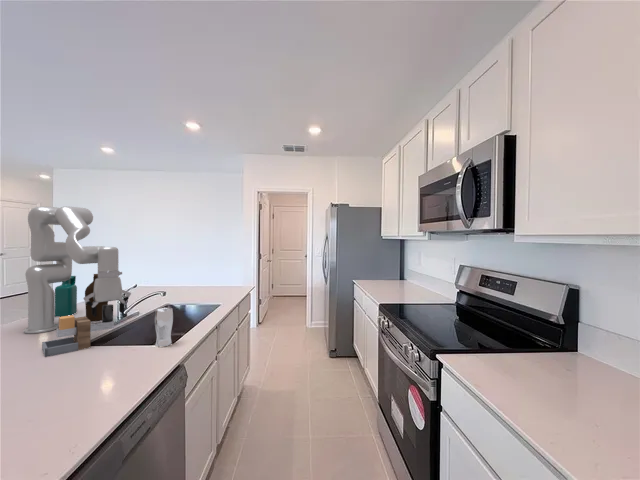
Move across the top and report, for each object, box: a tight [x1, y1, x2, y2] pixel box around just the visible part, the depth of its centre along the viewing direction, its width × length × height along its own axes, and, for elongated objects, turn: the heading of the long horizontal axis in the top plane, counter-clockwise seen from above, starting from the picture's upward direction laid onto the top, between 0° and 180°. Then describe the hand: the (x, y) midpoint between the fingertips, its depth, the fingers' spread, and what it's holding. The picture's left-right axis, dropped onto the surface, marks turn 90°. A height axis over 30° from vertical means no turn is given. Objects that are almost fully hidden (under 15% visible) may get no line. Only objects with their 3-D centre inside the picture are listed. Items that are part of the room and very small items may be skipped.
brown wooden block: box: [73, 315, 92, 351], centre depth 128 cm, size 10×4×11 cm, turn 47°
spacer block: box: [58, 315, 76, 330], centre depth 125 cm, size 4×4×4 cm
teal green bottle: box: [54, 275, 78, 317], centre depth 178 cm, size 10×8×22 cm
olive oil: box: [84, 273, 109, 322], centre depth 169 cm, size 11×11×25 cm
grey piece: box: [55, 303, 115, 339], centre depth 129 cm, size 4×19×10 cm, turn 137°
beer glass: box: [154, 307, 174, 347], centre depth 131 cm, size 7×7×15 cm
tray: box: [41, 336, 79, 358], centre depth 123 cm, size 11×10×3 cm
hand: (108, 314), depth 135 cm, fingers open, 9 cm apart
